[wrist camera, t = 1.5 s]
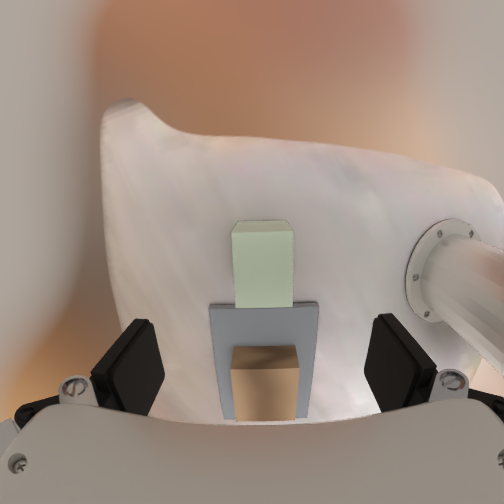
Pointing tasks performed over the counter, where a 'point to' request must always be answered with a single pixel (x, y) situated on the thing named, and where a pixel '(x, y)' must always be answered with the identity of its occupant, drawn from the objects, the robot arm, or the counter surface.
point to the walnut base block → (265, 382)
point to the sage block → (262, 264)
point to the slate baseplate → (264, 343)
